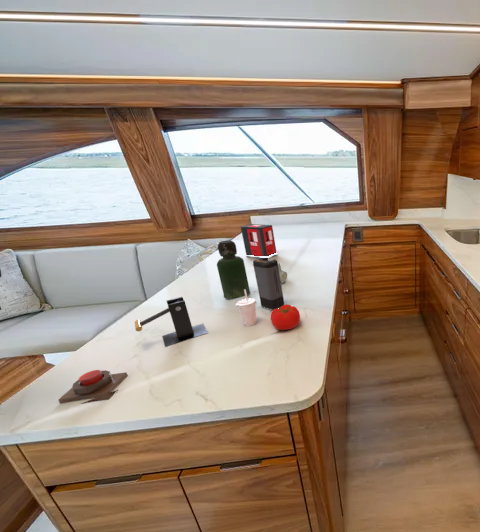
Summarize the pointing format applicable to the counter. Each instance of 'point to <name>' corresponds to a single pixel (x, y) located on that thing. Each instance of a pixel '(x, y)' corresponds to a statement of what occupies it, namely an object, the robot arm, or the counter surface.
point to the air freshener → (282, 273)
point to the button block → (94, 388)
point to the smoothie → (247, 310)
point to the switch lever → (139, 324)
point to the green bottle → (232, 271)
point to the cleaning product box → (258, 240)
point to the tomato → (285, 317)
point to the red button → (90, 377)
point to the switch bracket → (181, 324)
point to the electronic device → (268, 283)
